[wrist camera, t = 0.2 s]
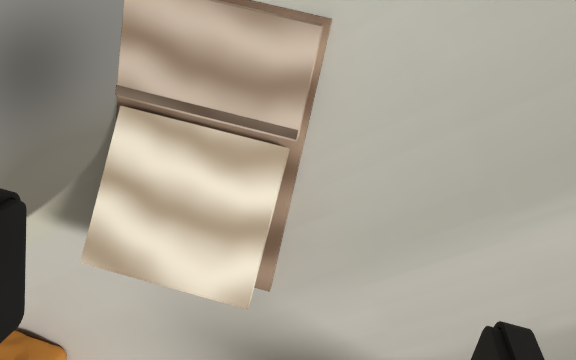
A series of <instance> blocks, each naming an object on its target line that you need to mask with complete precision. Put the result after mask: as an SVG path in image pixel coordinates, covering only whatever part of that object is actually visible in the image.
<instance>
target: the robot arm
mask: <svg viewBox="0 0 576 360" xmlns="http://www.w3.org/2000/svg"><path fill="white" fill-rule="evenodd" d="M25 256H26V205H25V204H24V203H23V202H21V200H20V197H19V195H18V194H17V193H15V192H11V191H8V190H4V189H0V343H1V342H3V341H4V340H5V339H6V338H7V337H8V336H9V335H10V334H11V333H12V332H13V331H14V330H15V329H16V328H17V327H18V326H19V324H20V323H21V320H22V318H23V315H24V306H25ZM471 360H544V357H543V355H542V353H541V350H540V348H539V346H538V343H537V341H536V338H535V336H534V334H533V332H532V331H531V330H530V329H527V328H524V327H520V326H516V325H512V324H509V323H505V322H501V321H499V322H497V323H496V325H495V326H494V327H490V326H486V327H485V328H484V329H483V331H482V334H481V336H480V339H479V341H478V343H477V346H476V348H475V351H474V353H473V356H472V358H471Z"/></svg>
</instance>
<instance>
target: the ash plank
mask: <svg viewBox="0 0 576 360" xmlns="http://www.w3.org/2000/svg"><path fill="white" fill-rule="evenodd" d="M289 150H290V149H289V148H286V147H282V146H278V145H274V144H271V143H267V142H263V141H259V140H255V139H251V138H247V137H243V136H239V135H235V134H231V133H227V132H223V131H219V130H215V129H211V128H207V127H203V126H199V125H195V124H191V123H187V122H184V121H180V120H176V119H172V118H168V117H164V116H160V115H156V114H152V113H148V112H144V111H140V110H136V109H132V108H128V107H124V106H120V109H119V113H118V117H117V121H116V125H115V129H114V132H113V136H112V140H111V144H110V148H109V152H108V156H107V160H106V164H105V168H104V172H103V176H102V179H101V183H100V187H99V191H98V195H97V199H96V203H95V207H94V211H93V215H92V219H91V222H90V226H89V230H88V234H87V238H86V242H85V246H84V250H83V254H82V258H81V262H80V263H83V264H87V265H90V266H94V267H97V268H101V269H105V270H108V271H112V272H115V273H119V274H122V275H126V276H129V277H133V278H137V279H140V280H144V281H147V282H151V283H154V284H158V285H162V286H165V287H169V288H172V289H176V290H179V291H183V292H187V293H190V294H194V295H197V296H201V297H204V298H208V299H211V300H215V301H219V302H222V303H226V304H229V305H233V306H236V307H240V308H244V309H247V308H248V307H249V306H250V302H251V298H252V294H253V290H254V286H255V282H256V278H257V274H258V271H259V267H260V263H261V259H262V255H263V251H264V247H265V243H266V239H267V236H268V232H269V228H270V224H271V220H272V216H273V212H274V208H275V205H276V201H277V197H278V193H279V189H280V185H281V181H282V177H283V173H284V170H285V166H286V162H287V158H288V154H289Z"/></svg>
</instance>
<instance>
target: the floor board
mask: <svg viewBox="0 0 576 360" xmlns="http://www.w3.org/2000/svg"><path fill="white" fill-rule="evenodd" d="M123 8H124V9H123V19H122V31H121V43H120V55H119V67H118V80H117V85H116V96H117V97H118V105H117V117H118V113H119V109H120V106H124V107H128V108H132V109H136V110H140V111H144V112H148V113H152V114H156V115H160V116H164V117H168V118H172V119H176V120H180V121H184V122H187V123H191V124H195V125H199V126H203V127H207V128H211V129H215V130H219V131H223V132H227V133H231V134H235V135H239V136H243V137H247V138H251V139H255V140H259V141H263V142H267V143H271V144H274V145H278V146H282V147H286V148H289V149H290V150H289V154H288V158H287V162H286V166H285V170H284V173H283V177H282V181H281V185H280V189H279V193H278V197H277V201H276V205H275V208H274V212H273V216H272V220H271V224H270V228H269V232H268V236H267V239H266V243H265V247H264V251H263V255H262V259H261V263H260V267H259V271H258V274H257V278H256V282H255V286H254V288H258V289H262V290H265V291H270V289H271V286H272V281H273V277H274V273H275V268H276V264H277V259H278V255H279V251H280V246H281V242H282V237H283V233H284V229H285V224H286V220H287V216H288V211H289V207H290V202H291V198H292V194H293V189H294V185H295V180H296V176H297V172H298V167H299V163H300V158H301V154H302V150H303V145H304V141H305V137H306V132H307V128H308V123H309V119H310V115H311V110H312V106H313V101H314V97H315V93H316V88H317V84H318V80H319V75H320V71H321V66H322V62H323V58H324V53H325V49H326V44H327V40H328V36H329V31H330V27H331V23H332V19H330V18H326V17H321V16H317V15H313V14H308V13H304V12H300V11H295V10H291V9H287V8H282V7H278V6H274V5H269V4H265V3H261V2H256V1H252V0H124V7H123ZM117 117H116V121H117Z"/></svg>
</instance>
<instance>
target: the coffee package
mask: <svg viewBox="0 0 576 360" xmlns="http://www.w3.org/2000/svg"><path fill="white" fill-rule="evenodd" d="M66 357H67V354H66V352H65V350H64V349H62V348H61V347H59V346H56V345H52V344H49V343H47V342H44V341H41V340H38V339H34V338H31V337H29V336H26V335H24V334H23V333H21V332H18V331H16V330H14V331H13V332H12V333H11V334H10V335H9V336H8V337H7V338H6V339H5V340H4V341H3V342H1V343H0V360H66Z"/></svg>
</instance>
